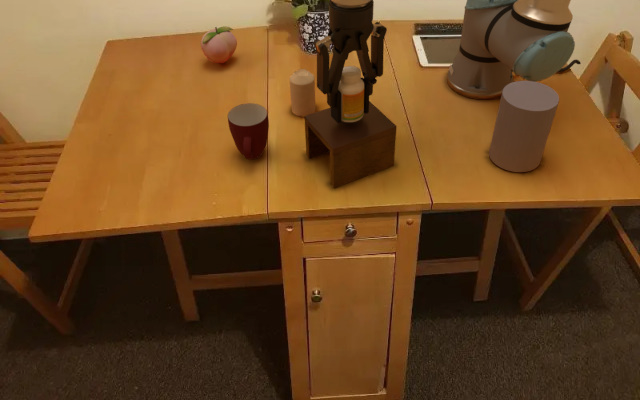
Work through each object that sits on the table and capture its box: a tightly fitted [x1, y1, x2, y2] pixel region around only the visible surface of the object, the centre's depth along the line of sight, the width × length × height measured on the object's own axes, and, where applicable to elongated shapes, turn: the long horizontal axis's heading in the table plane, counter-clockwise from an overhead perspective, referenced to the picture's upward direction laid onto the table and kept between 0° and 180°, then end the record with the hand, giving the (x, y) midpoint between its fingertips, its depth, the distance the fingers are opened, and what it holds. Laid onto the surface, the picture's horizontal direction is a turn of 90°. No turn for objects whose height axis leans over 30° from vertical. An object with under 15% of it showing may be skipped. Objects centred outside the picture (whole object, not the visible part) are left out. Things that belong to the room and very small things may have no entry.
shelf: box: [303, 100, 398, 189], centre depth 117 cm, size 14×12×10 cm
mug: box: [227, 102, 270, 160], centre depth 119 cm, size 10×8×10 cm
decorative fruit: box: [200, 26, 238, 64], centre depth 147 cm, size 9×8×10 cm
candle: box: [289, 68, 317, 118], centre depth 131 cm, size 6×6×10 cm
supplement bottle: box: [338, 65, 364, 122], centre depth 109 cm, size 5×5×10 cm
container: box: [488, 80, 560, 173], centre depth 115 cm, size 10×10×15 cm
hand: (349, 114), depth 113 cm, fingers closed on supplement bottle, 5 cm apart
